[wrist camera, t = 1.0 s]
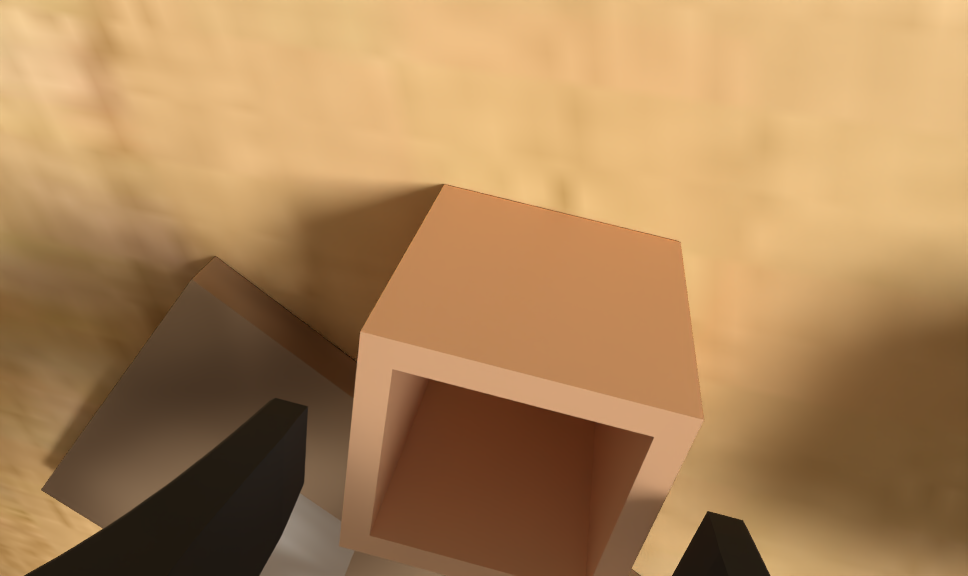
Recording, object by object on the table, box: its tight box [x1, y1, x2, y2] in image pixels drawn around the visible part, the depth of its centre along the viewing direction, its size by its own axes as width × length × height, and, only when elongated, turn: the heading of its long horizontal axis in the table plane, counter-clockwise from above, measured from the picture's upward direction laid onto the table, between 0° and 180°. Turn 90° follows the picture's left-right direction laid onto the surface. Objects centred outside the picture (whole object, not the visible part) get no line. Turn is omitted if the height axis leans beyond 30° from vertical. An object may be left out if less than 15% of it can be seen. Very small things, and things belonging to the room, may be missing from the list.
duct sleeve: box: [339, 184, 704, 576], centre depth 15 cm, size 6×6×6 cm
